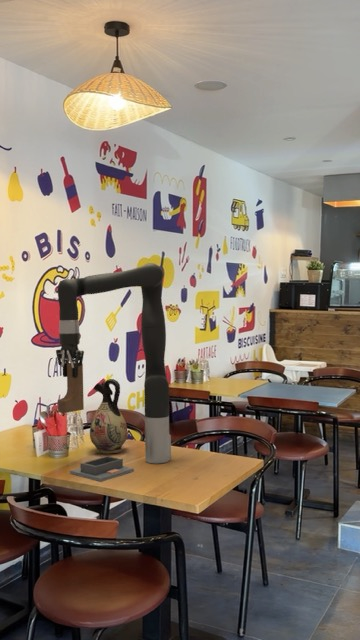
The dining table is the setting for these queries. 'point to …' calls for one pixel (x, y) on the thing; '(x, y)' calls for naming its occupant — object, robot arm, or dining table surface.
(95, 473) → the pocket plate
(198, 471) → the dining table surface
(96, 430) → the ceramic jug
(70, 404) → the wooden block
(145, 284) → the robot arm
